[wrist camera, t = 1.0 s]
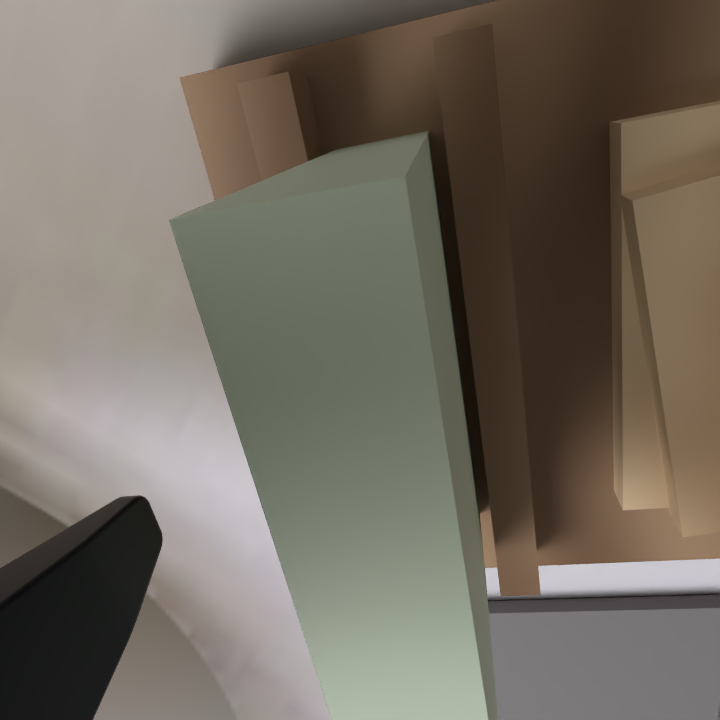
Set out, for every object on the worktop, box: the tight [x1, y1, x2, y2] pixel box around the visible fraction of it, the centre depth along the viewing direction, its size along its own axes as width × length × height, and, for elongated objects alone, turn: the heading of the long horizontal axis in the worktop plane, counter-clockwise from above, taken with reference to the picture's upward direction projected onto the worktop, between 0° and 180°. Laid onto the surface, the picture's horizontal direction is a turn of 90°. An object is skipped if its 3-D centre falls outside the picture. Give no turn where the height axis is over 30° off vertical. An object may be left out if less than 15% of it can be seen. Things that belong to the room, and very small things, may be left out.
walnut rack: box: [180, 0, 720, 596], centre depth 13 cm, size 16×14×4 cm
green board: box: [169, 131, 498, 720], centre depth 10 cm, size 2×10×8 cm, turn 11°
